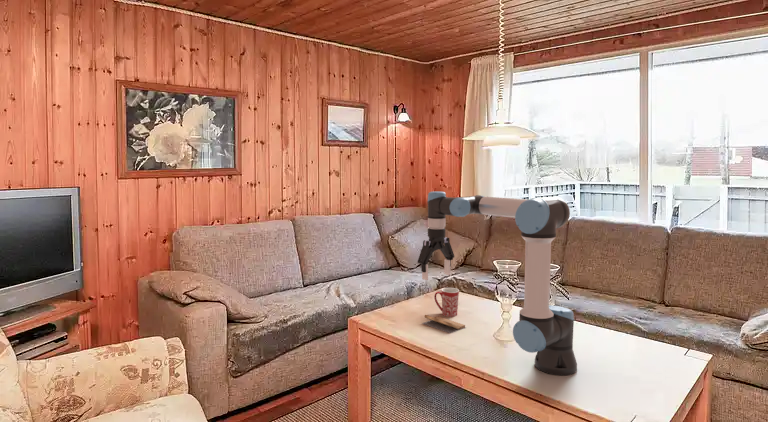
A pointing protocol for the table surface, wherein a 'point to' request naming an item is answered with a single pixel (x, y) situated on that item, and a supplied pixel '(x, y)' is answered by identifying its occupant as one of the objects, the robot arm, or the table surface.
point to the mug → (448, 301)
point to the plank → (442, 322)
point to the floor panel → (444, 327)
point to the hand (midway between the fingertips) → (436, 277)
